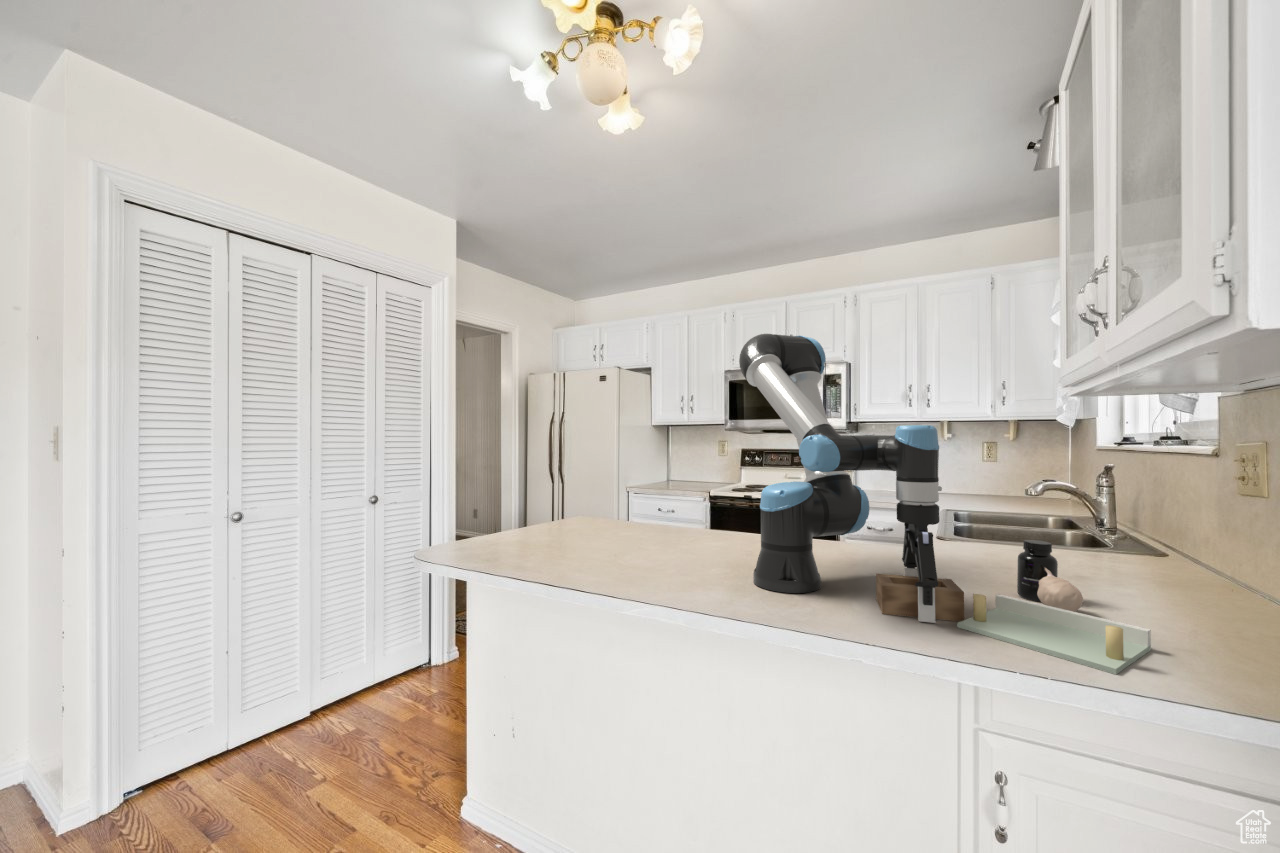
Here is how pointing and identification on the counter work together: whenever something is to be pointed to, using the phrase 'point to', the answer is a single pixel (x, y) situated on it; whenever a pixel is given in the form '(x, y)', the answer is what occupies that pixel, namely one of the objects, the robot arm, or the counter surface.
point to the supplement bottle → (1034, 567)
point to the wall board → (1060, 632)
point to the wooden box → (903, 597)
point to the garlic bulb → (1059, 593)
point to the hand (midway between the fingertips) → (919, 610)
